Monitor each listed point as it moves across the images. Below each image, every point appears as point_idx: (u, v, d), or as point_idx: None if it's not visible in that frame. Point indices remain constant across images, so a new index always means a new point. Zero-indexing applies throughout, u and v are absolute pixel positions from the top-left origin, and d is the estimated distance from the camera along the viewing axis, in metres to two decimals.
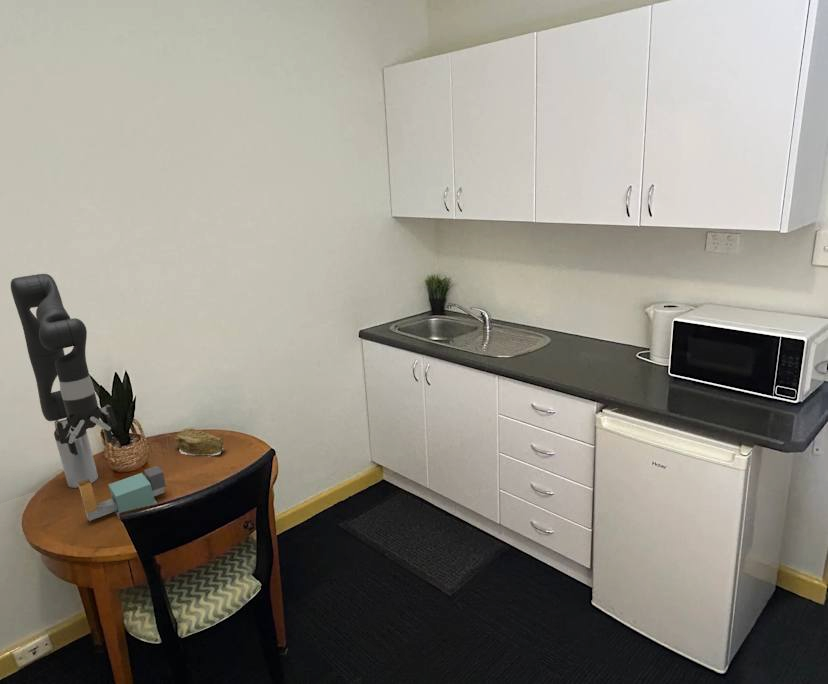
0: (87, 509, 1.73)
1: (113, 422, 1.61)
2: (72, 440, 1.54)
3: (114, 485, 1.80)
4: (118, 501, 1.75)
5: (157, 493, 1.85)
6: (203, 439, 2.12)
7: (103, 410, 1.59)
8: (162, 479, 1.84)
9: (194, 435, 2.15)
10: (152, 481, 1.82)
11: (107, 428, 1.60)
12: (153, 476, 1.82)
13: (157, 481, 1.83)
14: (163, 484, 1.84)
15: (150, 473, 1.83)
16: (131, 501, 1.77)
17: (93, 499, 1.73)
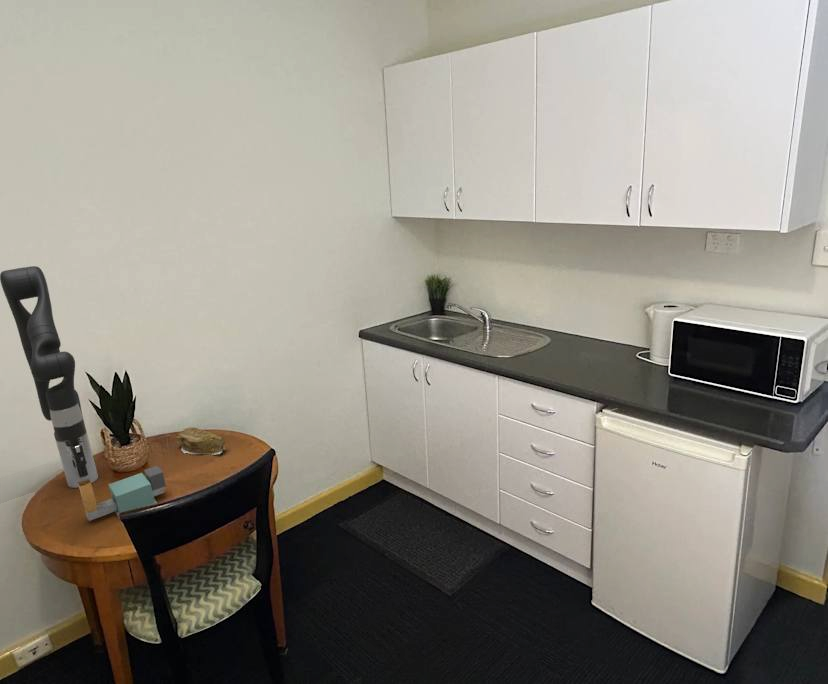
0: (87, 509, 1.73)
1: None
2: None
3: (114, 485, 1.80)
4: (118, 501, 1.75)
5: (157, 493, 1.85)
6: (205, 438, 2.12)
7: None
8: (162, 479, 1.84)
9: (196, 434, 2.16)
10: (152, 481, 1.82)
11: None
12: (153, 476, 1.82)
13: (157, 481, 1.83)
14: (163, 484, 1.84)
15: (150, 473, 1.83)
16: (131, 501, 1.77)
17: (93, 499, 1.73)
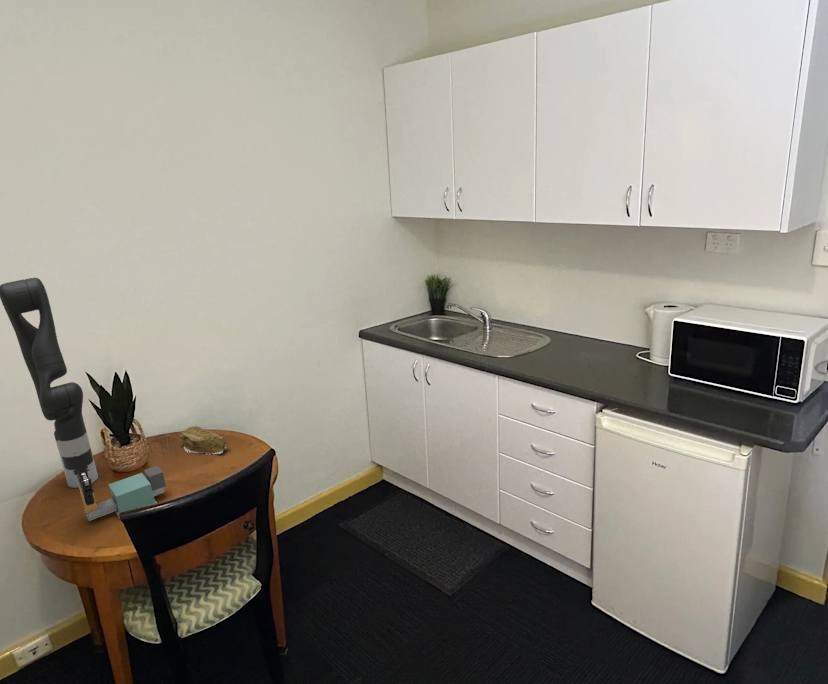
0: (87, 509, 1.73)
1: None
2: None
3: (114, 485, 1.80)
4: (118, 501, 1.75)
5: (157, 493, 1.85)
6: (206, 437, 2.13)
7: None
8: (162, 479, 1.84)
9: (198, 433, 2.17)
10: (152, 481, 1.82)
11: None
12: (153, 476, 1.82)
13: (157, 481, 1.83)
14: (163, 484, 1.84)
15: (150, 473, 1.83)
16: (131, 501, 1.77)
17: None
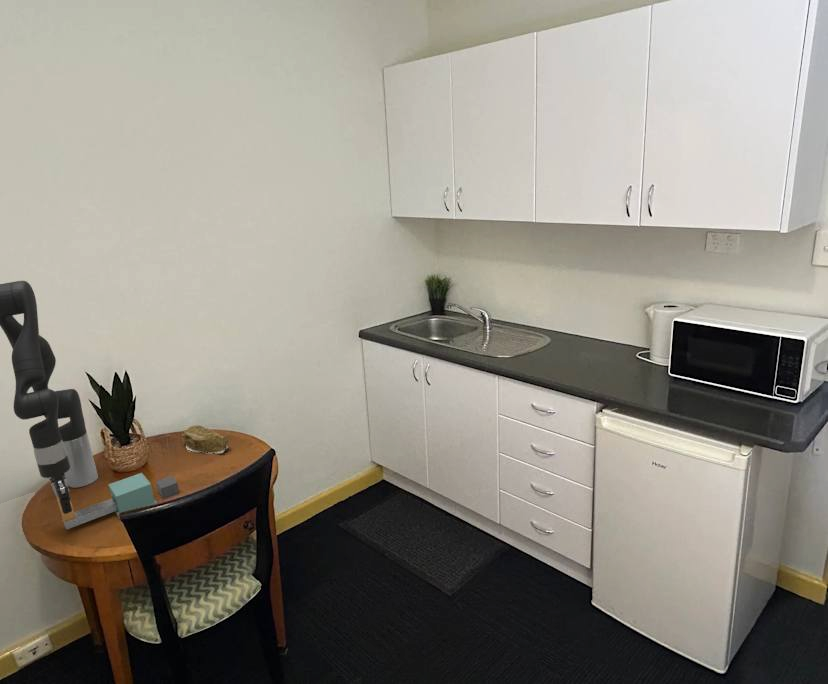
0: (64, 517, 1.69)
1: None
2: None
3: (114, 485, 1.80)
4: (118, 501, 1.75)
5: None
6: (208, 437, 2.13)
7: None
8: (171, 494, 1.87)
9: (200, 432, 2.17)
10: (171, 486, 1.86)
11: None
12: (176, 486, 1.87)
13: (170, 490, 1.86)
14: (165, 496, 1.85)
15: (175, 482, 1.89)
16: (131, 501, 1.77)
17: None
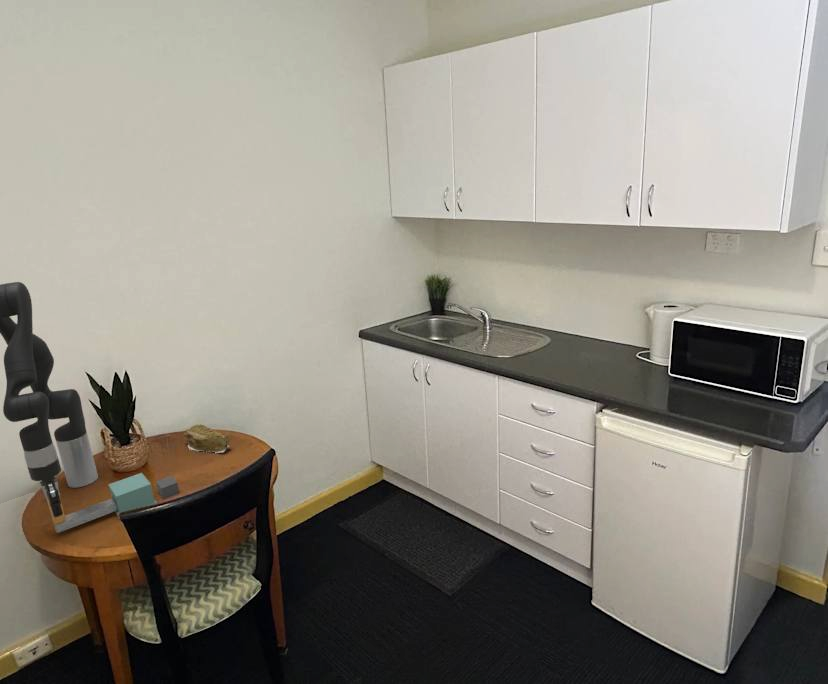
0: (55, 521, 1.68)
1: None
2: None
3: (114, 485, 1.80)
4: (118, 501, 1.75)
5: None
6: (209, 436, 2.14)
7: None
8: (171, 494, 1.87)
9: (202, 431, 2.18)
10: (171, 486, 1.86)
11: None
12: (176, 485, 1.87)
13: (170, 490, 1.86)
14: (166, 496, 1.85)
15: None
16: (131, 501, 1.77)
17: None
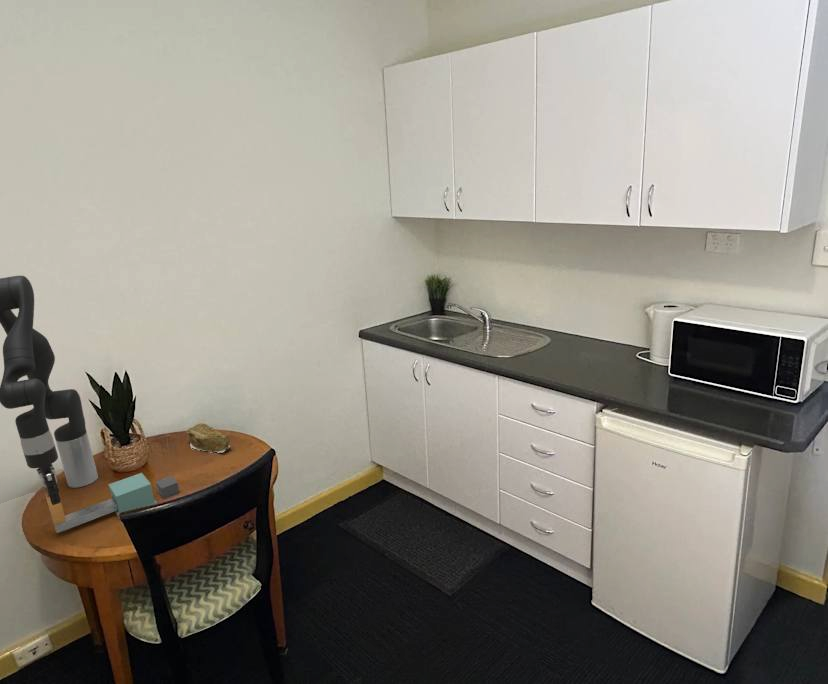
0: (55, 521, 1.68)
1: None
2: None
3: (114, 485, 1.80)
4: (118, 501, 1.75)
5: None
6: (210, 436, 2.14)
7: None
8: (171, 494, 1.87)
9: (204, 431, 2.18)
10: (171, 485, 1.86)
11: None
12: (177, 485, 1.87)
13: (170, 490, 1.86)
14: (166, 496, 1.85)
15: None
16: (131, 501, 1.77)
17: (61, 511, 1.68)
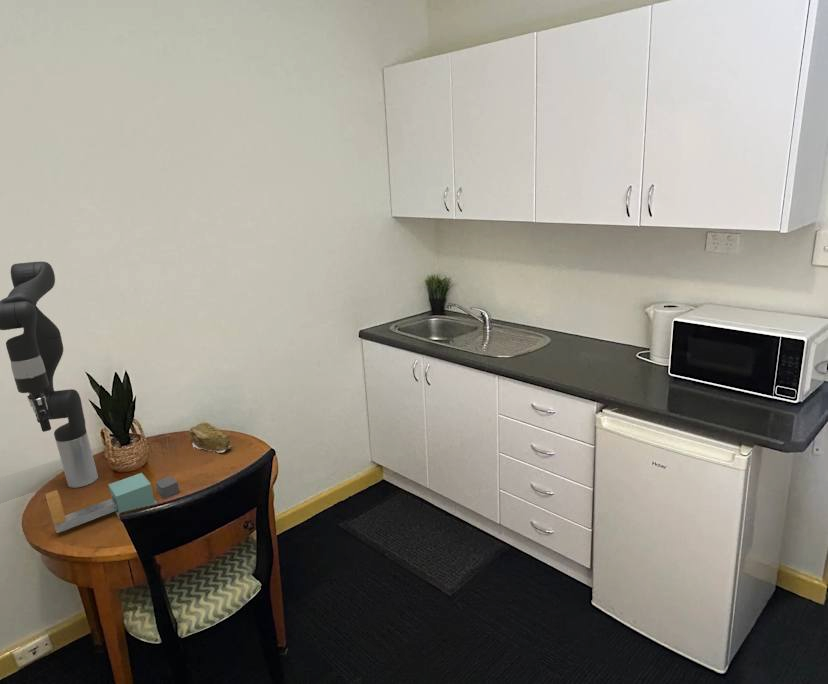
0: (55, 521, 1.68)
1: None
2: None
3: (114, 485, 1.80)
4: (118, 501, 1.75)
5: None
6: (211, 435, 2.14)
7: None
8: (172, 494, 1.87)
9: (206, 430, 2.19)
10: (172, 485, 1.86)
11: None
12: (177, 485, 1.87)
13: (171, 490, 1.86)
14: (166, 496, 1.85)
15: None
16: (131, 501, 1.77)
17: (61, 511, 1.68)
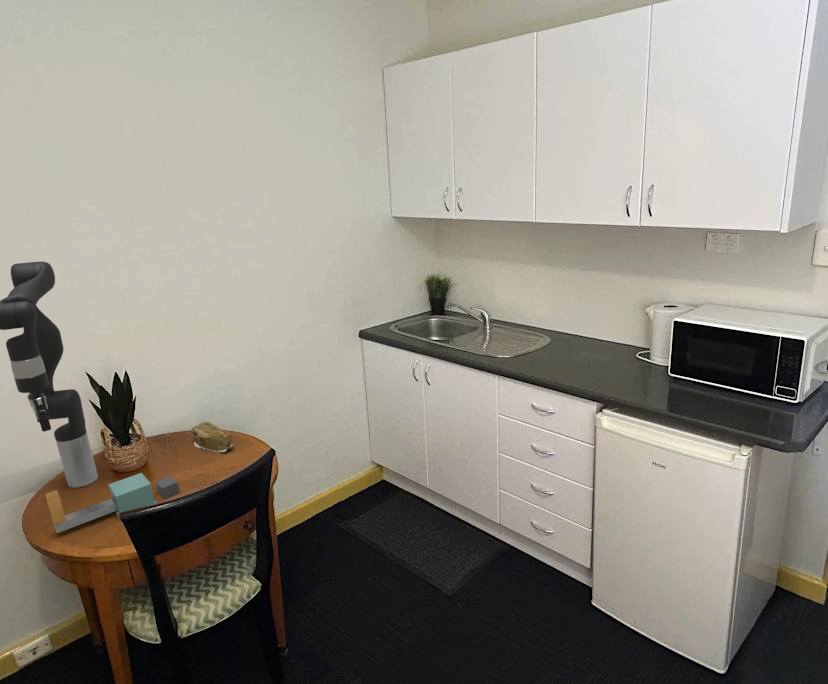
0: (55, 521, 1.68)
1: None
2: None
3: (114, 485, 1.80)
4: (118, 501, 1.75)
5: None
6: (213, 435, 2.15)
7: None
8: (172, 494, 1.87)
9: (207, 429, 2.19)
10: (172, 485, 1.86)
11: None
12: (177, 485, 1.87)
13: (171, 490, 1.86)
14: (166, 496, 1.85)
15: None
16: (131, 501, 1.77)
17: (61, 511, 1.68)
